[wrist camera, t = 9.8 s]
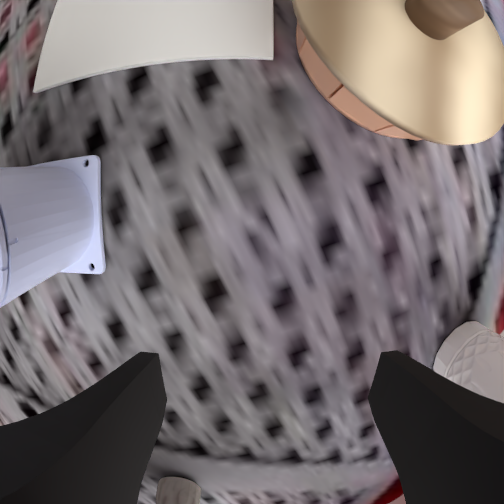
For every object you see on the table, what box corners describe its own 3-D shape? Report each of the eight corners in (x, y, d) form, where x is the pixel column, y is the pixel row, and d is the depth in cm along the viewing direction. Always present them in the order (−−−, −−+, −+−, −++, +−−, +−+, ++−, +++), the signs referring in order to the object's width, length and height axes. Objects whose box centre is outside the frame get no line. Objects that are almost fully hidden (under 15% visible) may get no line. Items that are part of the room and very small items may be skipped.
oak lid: (303, 130, 12) (333, 106, 7) (279, -73, 8) (286, -117, 4) (514, 161, 12) (562, 165, 7) (469, -16, 8) (500, -36, 4)
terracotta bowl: (296, 125, 16) (315, 105, 11) (292, -25, 13) (303, -65, 8) (458, 153, 17) (503, 151, 12) (439, 15, 13) (470, -6, 9)
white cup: (415, 388, 22) (464, 459, 12) (445, 315, 20) (519, 377, 10) (467, 378, 22) (516, 432, 12) (495, 313, 20) (559, 358, 10)
